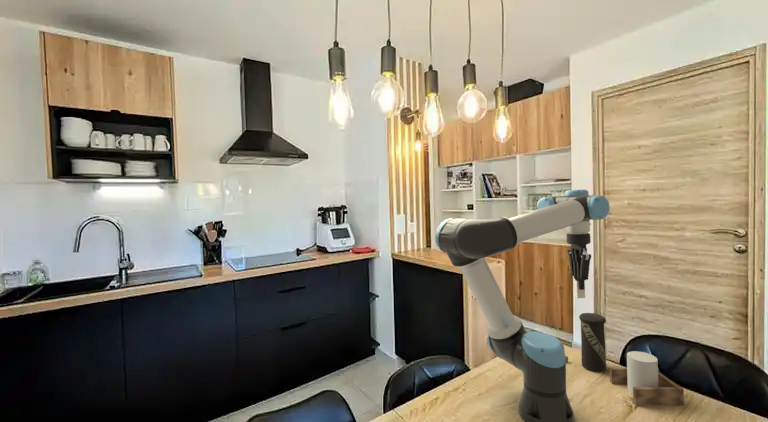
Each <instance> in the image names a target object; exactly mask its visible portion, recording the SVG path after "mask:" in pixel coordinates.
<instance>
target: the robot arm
mask: <svg viewBox="0 0 768 422" xmlns="http://www.w3.org/2000/svg"><path fill="white" fill-rule="evenodd" d="M564 193H565V194H564V195H563V196H562V195H560V196H559V195H558V196H555V195H554V196H544V197H542V198H541V197H540V199H539V200H538V201H537V204H536V209H535V210H532V211H528V212H525V213H522V214H519V215H516V216H512V217H509V218H508V217H506V216H499V217H496V218H492V219H491V218H490V219H489V218H488V219H484V218H483V219H479V218H478V219H477V218H463V217H456V216H455V217H450V218H447V219H444V220H443V221H441V222H440V223H439V225H438V227H437V228H436V230H435V231H436V232H435V237H434V238H435V239H434V240H435V243H436V246H437V247H438V249H439V250H441V252H443V253H446V255H447V256H448V259H449V261H450V263H451V264H452V266H453V267H455V268H459V269H460V271H461V274H462V275H463V277H464V280H465V282H466V283H467V285H468V287H469V289H470V291H471V293H472V295H473V297H474V299H475V301H476V303H477V305H478V307H479V309H480V311H481V313H482V316H484V319H485V321H486V324H487V328H486V333H487V337H486V341H487V345H488V347H489V349H490V350H491V351H492V352H493V354H495V355H496V356H497V357H498V358H499V359H501V360H503V361H505V362H506V363H508V364H509V365H511V366H513V367H514V368H516V369H517V370H520V371H521V372H522V373H523V374H522V375H523V389H522V391H521V394H520V397H519V401H518V413H519V416H520V418H521V419H522V420H523V421H525V422H575V414H574V411H573V410H574V409H573V408H572V405H571V402H570V399H569V396H568V394H567V363H566V356H567V355H566V354H565V346H564V344H563V343H562V341H561V340H560V339H558V338H557V337H556V336H554V335H551V334H549V333H546V332H545V333H544V332H541V331H529V332H528V331H527V330H526V329H525V326H524V325H523V322H522V320H521V318H519V317H518V316H516V315H513V313H512V311H511V309H510V306H509V305H508V303H507V300H506V299H505V297H504V295H503V293H502V290H501V289H500V286H499V285H498V282H497V280H496V278H495V276H494V274H493V272H492V270H491V268H490V265H489V263H488V262H487V259H486V258H488V257H492V256H495V255H498V254H501V253H504V252H507V251H511V250H513V249H515V248H516V247H517V245H518V244H519V243H523V242H525V241H528V240H531V239H535V238H538V237H540V236H543V235H546V234H550V233H552V232H555V231H559V230H562V229H564V228H565V230H566V243H567V244H568V245H570V249H567V254H568V258H569V260H568V261H569V266H570V267H569V268H570V273H571V274H570V275H571V277H573V279H574V292H575V293H574V295H575V297H574V298H576V299H586V288H585V287H586V286H585V284H586V283H585V282H586V281H588V280H589V273H590V264H591V263H590V262H591V259H592V254H591V253H590V254H588V248H587V245H589V244H591V234H590V231H591V225H592V224H591V220H593V221H597V220H605V218H606V217H608V215H609V213H610V211H611V209H610V202H609V200H608V198H606V197H605V196H603V195H601V194H600V195H597V194H590V193H589V190H587V189H570V190H566V191H565V192H564Z"/></svg>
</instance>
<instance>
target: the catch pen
mask: <svg viewBox="0 0 768 422" xmlns="http://www.w3.org/2000/svg"><path fill="white" fill-rule="evenodd" d="M609 382H610V383H611V384H614V385H615V384H618V385H619V384H626V385H628V382H627V367H609ZM684 391H685V389H684V388H683V387H682V386H680V385H679V384H677V383H676V382H674V381H673V380H671V379H670V378H668V377H667V376H665V375H664V374H663V373H662V372H660V371H658V387H633V395H632V397H633V398H632V401H633V404H634V405H635V406H684V405H685V400H684V399H685V397H684V396H685V395H684Z"/></svg>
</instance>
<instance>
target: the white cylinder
mask: <svg viewBox="0 0 768 422" xmlns="http://www.w3.org/2000/svg"><path fill="white" fill-rule="evenodd" d="M658 365H659V361H658V358H657V356H654V355H653V354H651V353H648V352H645V351H639V350H636V351H635V350H632V351H627V353H626V368H627V382H628V384H627V392H628V393H630V395H632V396H633V387H658V372H659V368H658V367H659V366H658Z"/></svg>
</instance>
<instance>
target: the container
mask: <svg viewBox="0 0 768 422" xmlns="http://www.w3.org/2000/svg"><path fill="white" fill-rule="evenodd" d="M578 318H579V321H580V338H581V339H580V341H581V345H580V346H581V366H582V367H583V368H584V369H585V370H587V371H591V372H593V373H594V372H596V373H602V372H605V371H606V370H607V355H606V353H607V352H606V351H607V350H606V335H605V332H606V331H605V323H606V321H607V319H606V317H605V316H604V315H602V314H598V313H594V312H583V313H580V314H579V316H578Z"/></svg>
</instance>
